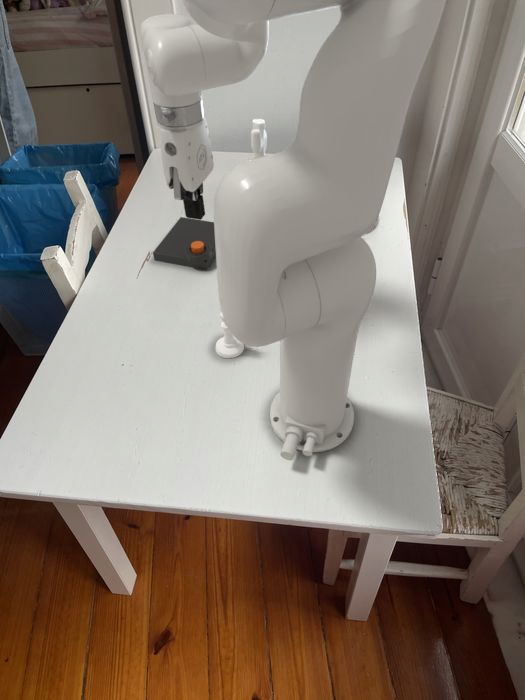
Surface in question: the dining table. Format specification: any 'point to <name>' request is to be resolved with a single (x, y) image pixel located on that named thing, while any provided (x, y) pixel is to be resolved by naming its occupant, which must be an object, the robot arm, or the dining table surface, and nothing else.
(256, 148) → the figurine
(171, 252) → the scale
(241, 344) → the chess piece
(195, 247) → the button
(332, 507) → the dining table surface
